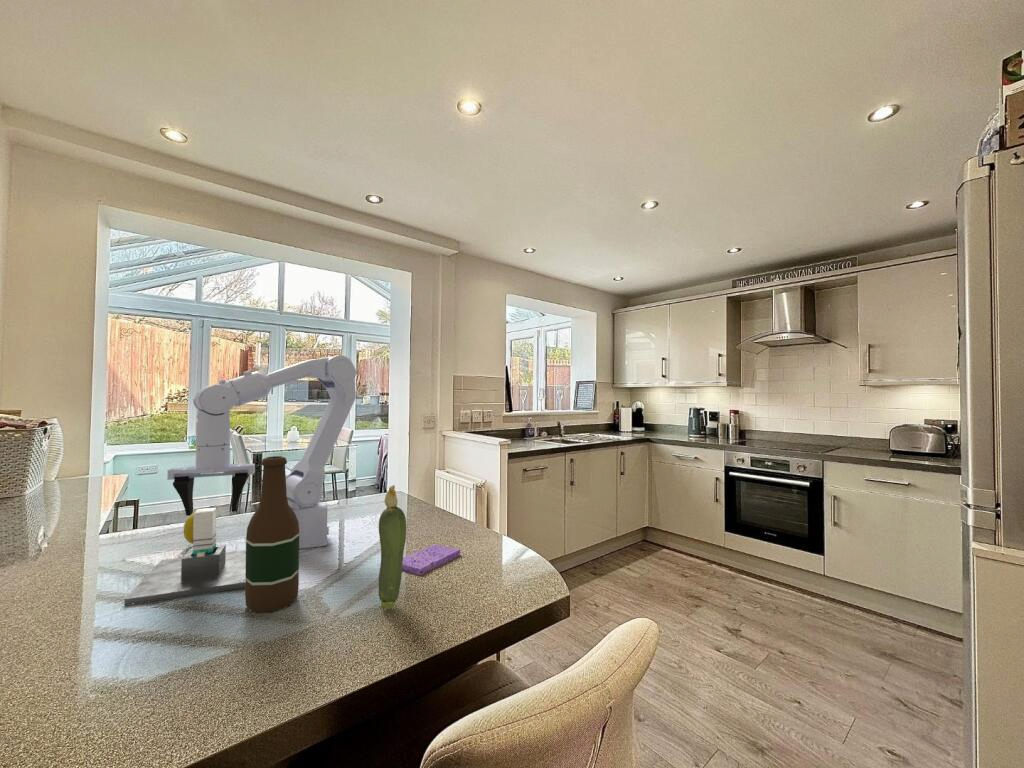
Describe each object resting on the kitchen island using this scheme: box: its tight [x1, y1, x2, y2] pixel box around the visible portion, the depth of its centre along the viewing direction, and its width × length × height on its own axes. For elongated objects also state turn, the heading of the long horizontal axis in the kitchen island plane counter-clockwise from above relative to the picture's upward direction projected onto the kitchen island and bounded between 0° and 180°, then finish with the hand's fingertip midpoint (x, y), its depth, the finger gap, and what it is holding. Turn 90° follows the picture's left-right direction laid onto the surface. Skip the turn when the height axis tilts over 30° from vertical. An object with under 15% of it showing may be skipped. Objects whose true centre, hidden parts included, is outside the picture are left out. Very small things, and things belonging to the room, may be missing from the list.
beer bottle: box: [244, 455, 300, 614], centre depth 73 cm, size 8×8×24 cm
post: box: [192, 507, 217, 556], centre depth 84 cm, size 3×3×8 cm
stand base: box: [124, 544, 246, 606], centre depth 84 cm, size 18×18×5 cm
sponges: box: [402, 543, 461, 576], centre depth 92 cm, size 7×13×2 cm, turn 149°
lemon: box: [183, 513, 194, 545], centre depth 99 cm, size 6×6×8 cm
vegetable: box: [378, 485, 407, 611], centre depth 72 cm, size 4×4×20 cm
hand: (212, 512), depth 89 cm, fingers open, 7 cm apart
